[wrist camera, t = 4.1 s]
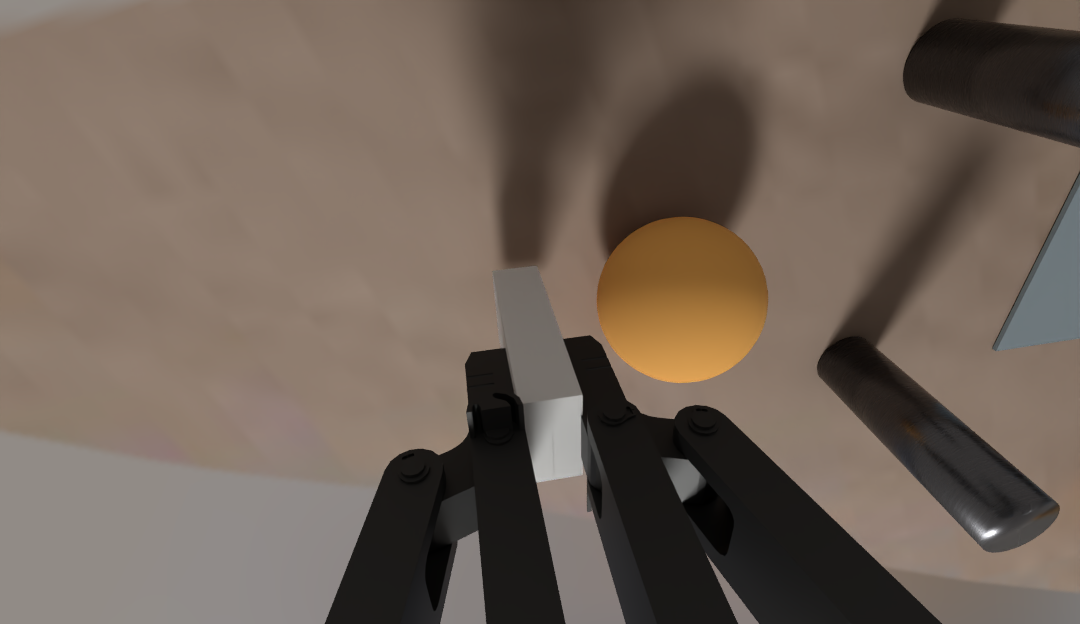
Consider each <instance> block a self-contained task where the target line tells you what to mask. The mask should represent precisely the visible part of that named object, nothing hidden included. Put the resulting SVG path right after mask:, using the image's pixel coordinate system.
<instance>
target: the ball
mask: <svg viewBox="0 0 1080 624" xmlns="http://www.w3.org/2000/svg"><path fill="white" fill-rule="evenodd" d="M767 307H768V290H767V285H766V279H765V275H764V273H763V270H762V267H761V265H760V263H759V262H758V260H757V258H756V256H755V255H754V253H753V252H752V250H751V249H750V248H749V246H748V245H747V244H746V243H745V242H744V241H743V240H742V239H741V238H739V237H738V236H737V235H736V234H735V233H733V232H731V231H730V230H728V229H727V228H725V227H723V226H721V225H719V224H717V223H714V222H711V221H708V220H705V219H700V218H695V217H672V218H667V219H661V220H658V221H654V222H651V223H649V224H647V225H645V226H643V227H641V228H639V229H637V230H636V231H634V232H633V233H631V234H630V235H629V236H627V237H626V238H625V239H624V240H623V241H622V242H621V243H620V244H619V245H618V246H617V247H616V248H615V250H614V251H613V252H612V254H611V255H610V257H609V259H608V260H607V262H606V264H605V266H604V268H603V271H602V273H601V276H600V280H599V284H598V291H597V310H598V316H599V321H600V324H601V327H602V330H603V332H604V334H605V336H606V338H607V340H608V342H609V344H610V345H611V347H612V348H613V349H614V351H615V352H616V353H617V354H618V355H619V356H620V357H621V358H622V359H623V360H624V361H625V362H626V363H627V364H629V365H630V366H631V367H633V368H634V369H636V370H637V371H639V372H641V373H643V374H645V375H647V376H650V377H652V378H655V379H658V380H662V381H667V382H675V383H688V382H696V381H702V380H706V379H709V378H712V377H714V376H717V375H719V374H721V373H723V372H725V371H727V370H729V369H730V368H731V367H733V366H734V365H736V364H737V363H738V362H739V361H740V360H742V359H743V358H744V357H745V356H746V355H747V354H748V352H749V351H750V350H751V348H752V347H753V345H754V344H755V343H756V341H757V339H758V337H759V335H760V333H761V331H762V329H763V326H764V323H765V320H766V315H767Z"/></svg>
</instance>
